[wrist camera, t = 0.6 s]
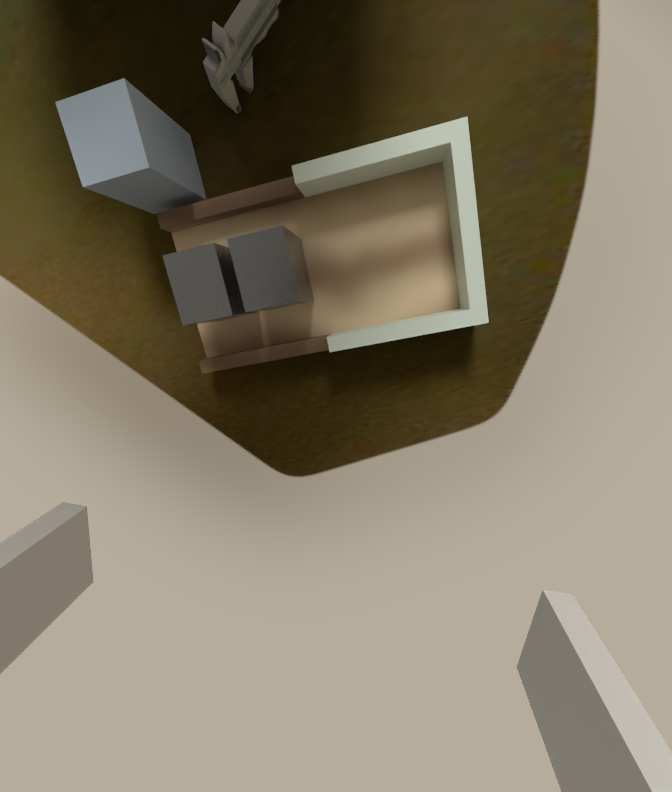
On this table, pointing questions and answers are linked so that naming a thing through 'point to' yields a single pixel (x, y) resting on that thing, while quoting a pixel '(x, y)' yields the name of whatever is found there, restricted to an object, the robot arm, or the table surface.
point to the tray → (455, 153)
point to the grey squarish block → (204, 284)
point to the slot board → (331, 259)
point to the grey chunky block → (270, 269)
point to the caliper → (238, 47)
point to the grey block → (130, 148)
